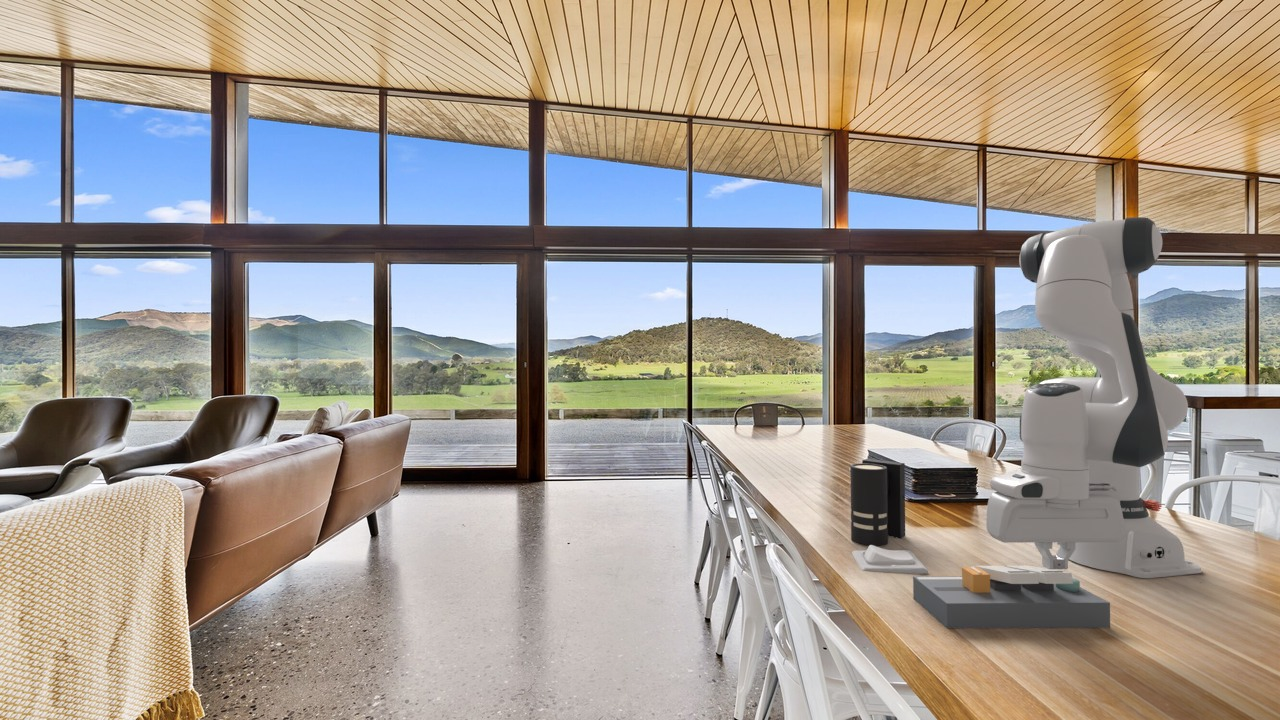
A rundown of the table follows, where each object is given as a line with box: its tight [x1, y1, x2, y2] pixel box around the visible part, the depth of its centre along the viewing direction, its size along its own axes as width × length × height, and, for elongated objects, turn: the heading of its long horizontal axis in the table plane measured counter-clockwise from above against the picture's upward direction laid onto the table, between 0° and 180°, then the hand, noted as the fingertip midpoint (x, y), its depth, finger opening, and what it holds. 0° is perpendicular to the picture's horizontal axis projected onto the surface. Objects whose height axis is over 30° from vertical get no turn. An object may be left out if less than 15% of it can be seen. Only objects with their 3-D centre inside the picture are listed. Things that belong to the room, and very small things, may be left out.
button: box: [1056, 577, 1081, 592], centre depth 93 cm, size 3×3×1 cm
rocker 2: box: [1004, 565, 1073, 584], centre depth 93 cm, size 4×10×2 cm, turn 179°
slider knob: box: [961, 566, 990, 593], centre depth 93 cm, size 3×3×3 cm
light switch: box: [851, 545, 929, 575], centre depth 116 cm, size 11×4×13 cm
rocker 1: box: [973, 565, 1039, 584], centre depth 93 cm, size 4×10×2 cm, turn 179°
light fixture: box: [849, 458, 906, 548], centre depth 132 cm, size 10×14×18 cm
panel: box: [912, 575, 1111, 629], centre depth 93 cm, size 26×11×5 cm, turn 89°
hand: (1055, 568), depth 89 cm, fingers closed
